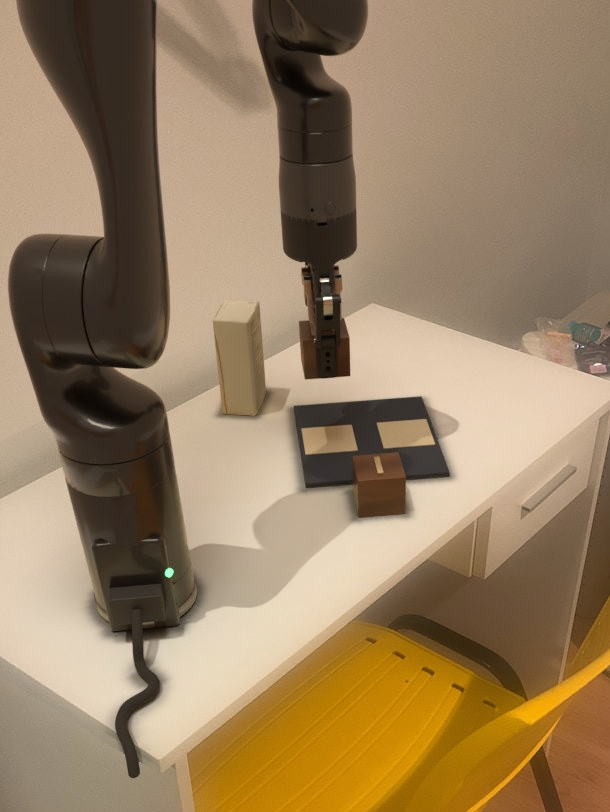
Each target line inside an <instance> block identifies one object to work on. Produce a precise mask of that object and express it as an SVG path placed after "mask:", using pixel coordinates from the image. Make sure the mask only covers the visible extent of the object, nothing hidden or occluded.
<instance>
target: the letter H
mask: <svg viewBox="0 0 610 812" xmlns="http://www.w3.org/2000/svg"><path fill="white" fill-rule="evenodd" d="M298 331H299V333H298V334H299V349H300V361H301V366H302V372H303V376H304V380H318V379H319V380H320V379H321V378H319V377H318V374H317V358H316V346H315V343H314V338H315V336H314V324H313V323H311V322H310V321H309V319H308V320H299V321H298ZM329 333H333V329H330V330H323V331H322V332H321V334H329ZM350 337H351V336H350V334H349V330H348V327H347V323H346V320H345V318H344V317H342V319H341V320H340V338H341V343H340V347H337V356H338V375H337V377H336V378H346V377H347V378H348V377H351V376H352V375H351V338H350Z"/></svg>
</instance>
